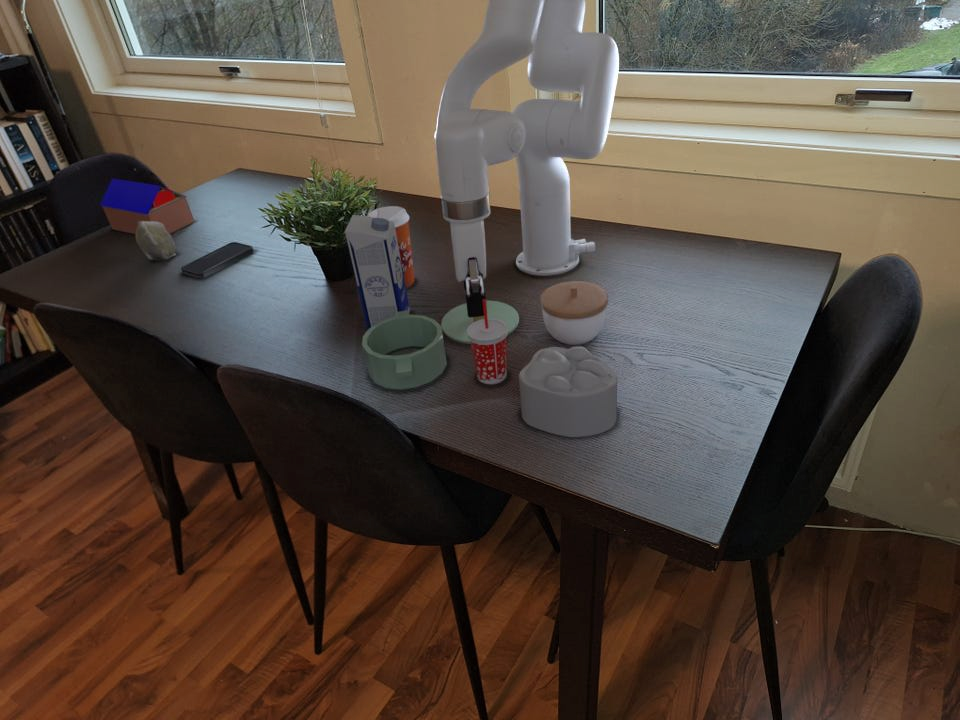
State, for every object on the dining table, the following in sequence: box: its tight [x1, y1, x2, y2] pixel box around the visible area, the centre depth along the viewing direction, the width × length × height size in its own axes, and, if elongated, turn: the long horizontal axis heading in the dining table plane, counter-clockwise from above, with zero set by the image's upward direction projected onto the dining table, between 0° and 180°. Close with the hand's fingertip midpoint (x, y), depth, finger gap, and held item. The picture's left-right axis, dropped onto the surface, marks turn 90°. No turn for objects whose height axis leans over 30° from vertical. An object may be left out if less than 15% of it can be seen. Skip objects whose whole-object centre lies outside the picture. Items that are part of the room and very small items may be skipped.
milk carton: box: [344, 214, 411, 330], centre depth 113 cm, size 7×7×20 cm
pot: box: [361, 310, 448, 390], centre depth 105 cm, size 13×18×6 cm
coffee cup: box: [367, 205, 415, 288], centre depth 127 cm, size 8×8×15 cm
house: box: [99, 178, 196, 235], centre depth 169 cm, size 12×20×12 cm, turn 59°
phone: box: [180, 241, 254, 279], centre depth 148 cm, size 8×1×15 cm
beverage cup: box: [467, 298, 508, 385], centre depth 98 cm, size 6×6×14 cm
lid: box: [440, 300, 520, 345], centre depth 114 cm, size 14×14×6 cm
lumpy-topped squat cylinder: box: [518, 345, 618, 438], centre depth 91 cm, size 10×13×9 cm
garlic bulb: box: [134, 221, 177, 262], centre depth 152 cm, size 9×8×10 cm
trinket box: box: [540, 280, 609, 346], centre depth 107 cm, size 11×11×9 cm
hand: (475, 301), depth 112 cm, fingers open, 9 cm apart
